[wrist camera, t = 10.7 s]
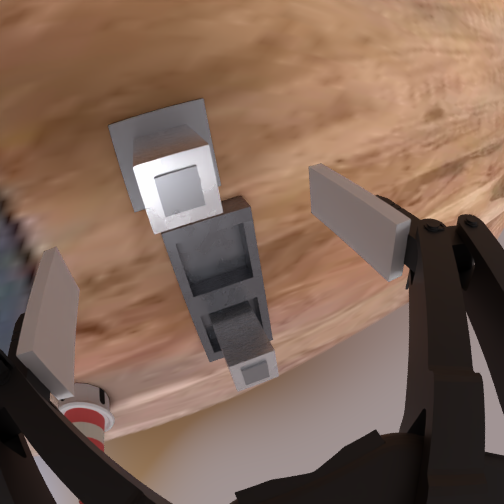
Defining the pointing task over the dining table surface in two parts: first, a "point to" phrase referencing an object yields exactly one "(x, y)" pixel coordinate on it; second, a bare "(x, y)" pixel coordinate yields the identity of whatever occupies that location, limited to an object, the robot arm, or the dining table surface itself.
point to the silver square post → (244, 345)
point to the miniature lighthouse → (88, 412)
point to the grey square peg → (175, 177)
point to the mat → (151, 123)
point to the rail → (218, 268)
